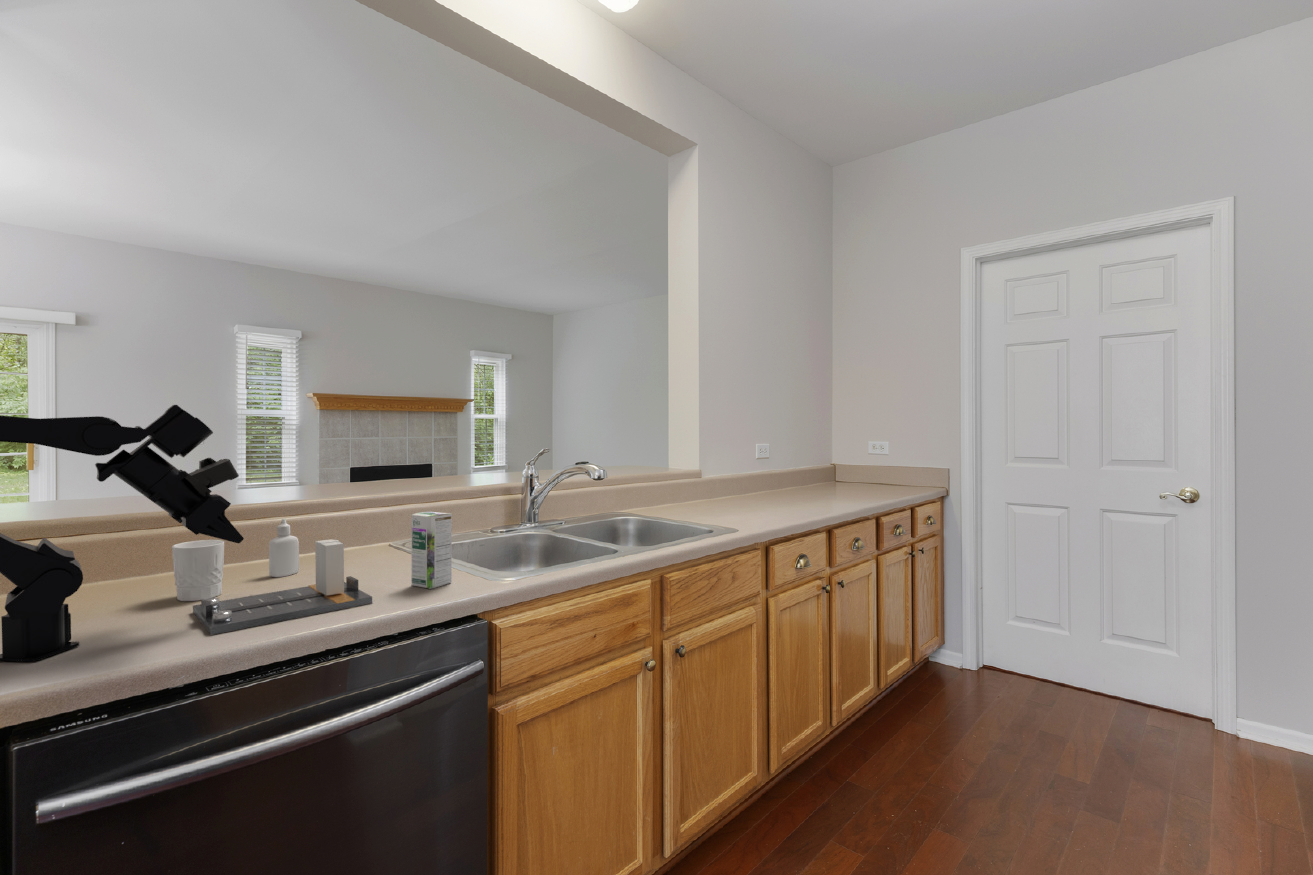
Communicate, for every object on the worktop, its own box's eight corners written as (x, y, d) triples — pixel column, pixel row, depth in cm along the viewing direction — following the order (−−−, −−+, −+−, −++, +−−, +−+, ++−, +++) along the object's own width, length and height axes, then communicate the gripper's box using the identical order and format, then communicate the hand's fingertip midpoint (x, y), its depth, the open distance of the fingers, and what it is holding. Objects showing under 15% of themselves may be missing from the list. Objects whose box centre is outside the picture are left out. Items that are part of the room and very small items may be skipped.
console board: (211, 635, 95) (210, 614, 95) (192, 612, 106) (192, 593, 106) (372, 603, 112) (372, 585, 112) (341, 586, 123) (341, 570, 123)
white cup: (197, 603, 112) (196, 548, 111) (161, 601, 113) (160, 546, 113) (235, 592, 119) (234, 540, 119) (201, 589, 121) (200, 538, 121)
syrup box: (410, 586, 124) (409, 513, 123) (433, 579, 129) (432, 510, 129) (430, 589, 121) (429, 515, 121) (453, 582, 126) (452, 512, 126)
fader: (326, 595, 111) (325, 544, 111) (315, 589, 115) (314, 540, 115) (344, 592, 113) (343, 542, 113) (333, 586, 117) (332, 538, 117)
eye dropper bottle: (268, 574, 133) (267, 519, 133) (298, 570, 136) (297, 516, 136) (269, 578, 130) (269, 521, 129) (300, 574, 133) (300, 519, 133)
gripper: (213, 443, 94) (295, 509, 102) (192, 441, 107) (265, 499, 115) (146, 499, 88) (238, 564, 96) (132, 489, 101) (214, 547, 109)
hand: (241, 540), depth 104 cm, fingers closed
